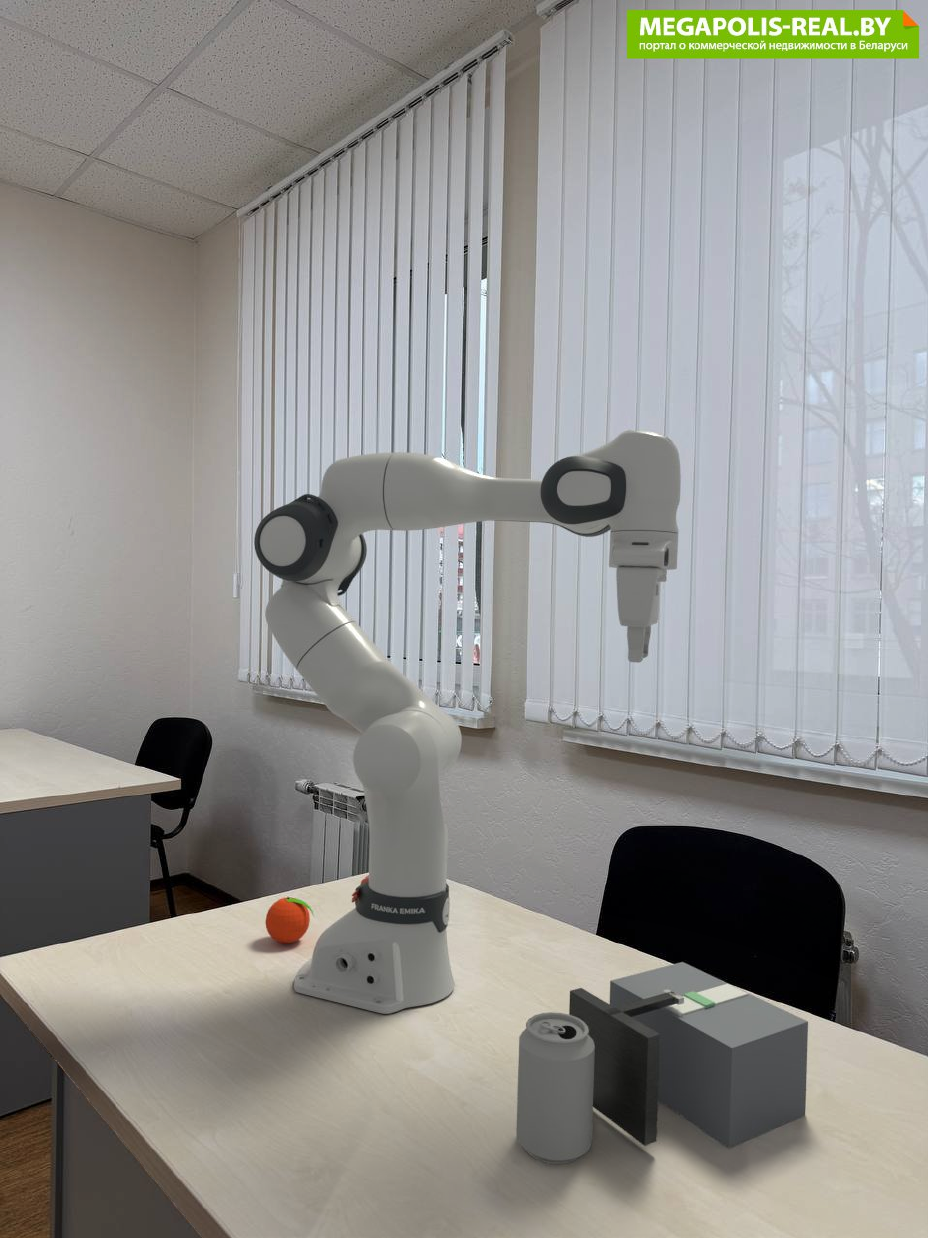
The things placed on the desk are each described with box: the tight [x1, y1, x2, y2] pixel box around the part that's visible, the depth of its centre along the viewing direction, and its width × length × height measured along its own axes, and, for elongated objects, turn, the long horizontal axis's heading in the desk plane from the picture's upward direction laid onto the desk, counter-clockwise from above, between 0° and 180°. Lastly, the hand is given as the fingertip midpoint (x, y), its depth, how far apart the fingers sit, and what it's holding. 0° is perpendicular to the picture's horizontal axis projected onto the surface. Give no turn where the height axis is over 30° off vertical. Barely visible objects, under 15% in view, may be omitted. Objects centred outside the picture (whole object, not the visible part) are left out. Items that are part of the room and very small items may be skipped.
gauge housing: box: [609, 961, 809, 1149], centre depth 95 cm, size 12×18×10 cm, turn 32°
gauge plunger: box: [568, 987, 684, 1147], centre depth 90 cm, size 10×12×10 cm
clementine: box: [265, 896, 315, 944], centre depth 135 cm, size 8×7×7 cm
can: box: [515, 1011, 595, 1165], centre depth 84 cm, size 8×8×12 cm
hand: (638, 659), depth 112 cm, fingers open, 8 cm apart
